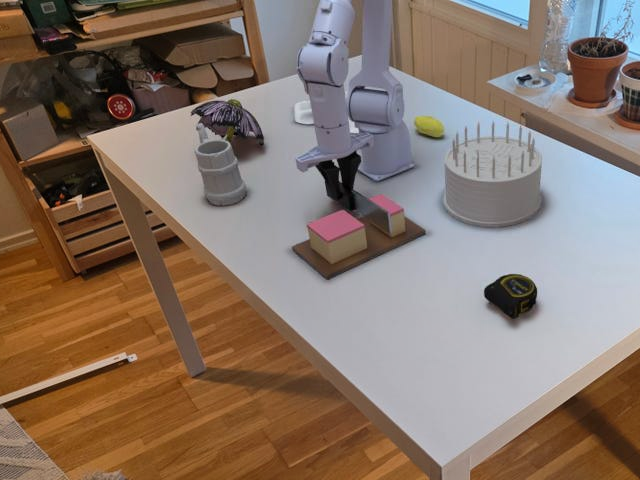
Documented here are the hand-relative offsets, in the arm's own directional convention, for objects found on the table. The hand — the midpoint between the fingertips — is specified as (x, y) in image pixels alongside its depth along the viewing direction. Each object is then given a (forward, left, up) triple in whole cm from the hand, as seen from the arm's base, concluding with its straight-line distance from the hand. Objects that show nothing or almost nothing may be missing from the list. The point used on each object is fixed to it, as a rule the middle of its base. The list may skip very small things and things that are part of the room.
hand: (342, 194), depth 117 cm
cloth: (-22, -36, -3) cm, 42 cm away
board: (+4, +11, -3) cm, 12 cm away
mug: (+14, -21, -3) cm, 25 cm away
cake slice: (-2, +11, -2) cm, 12 cm away
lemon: (-31, -14, -3) cm, 34 cm away
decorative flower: (+4, -36, -3) cm, 36 cm away
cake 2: (-22, +16, -3) cm, 27 cm away
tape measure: (-3, +41, -3) cm, 41 cm away
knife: (0, +6, -1) cm, 6 cm away
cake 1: (+8, +11, -2) cm, 14 cm away
